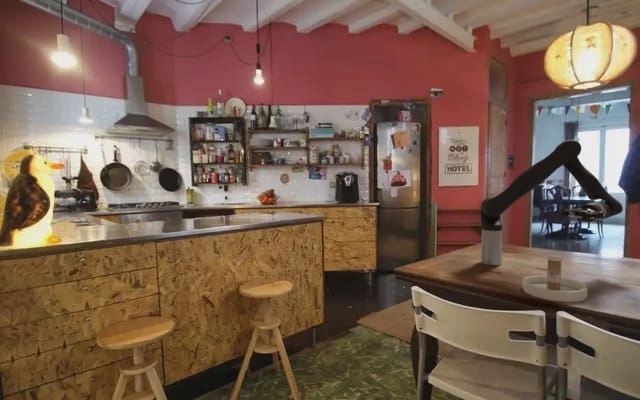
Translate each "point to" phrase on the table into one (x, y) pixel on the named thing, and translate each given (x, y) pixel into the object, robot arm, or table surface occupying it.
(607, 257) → the table surface
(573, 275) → the table surface
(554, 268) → the sprinkles bottle
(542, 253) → the table surface
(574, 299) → the bowl
